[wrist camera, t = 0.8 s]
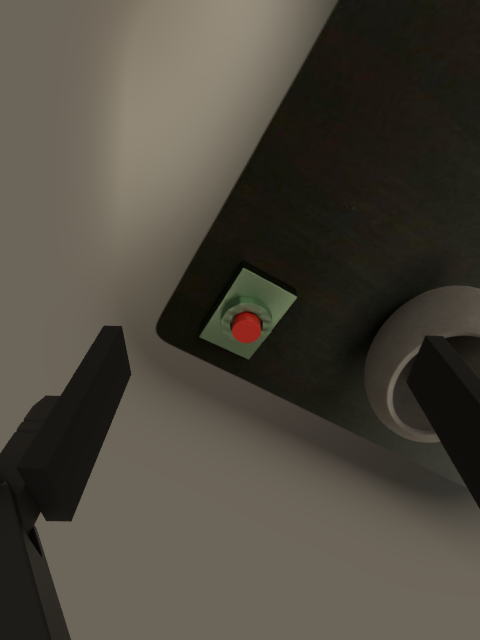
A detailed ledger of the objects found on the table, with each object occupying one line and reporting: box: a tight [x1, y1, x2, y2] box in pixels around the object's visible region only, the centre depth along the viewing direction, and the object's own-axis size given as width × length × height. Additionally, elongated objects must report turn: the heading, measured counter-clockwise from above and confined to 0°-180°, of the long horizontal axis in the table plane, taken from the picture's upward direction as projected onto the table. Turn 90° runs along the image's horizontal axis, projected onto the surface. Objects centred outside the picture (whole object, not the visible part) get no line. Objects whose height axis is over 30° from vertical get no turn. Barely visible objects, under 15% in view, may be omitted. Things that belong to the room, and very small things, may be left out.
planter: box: [365, 286, 480, 443], centre depth 39 cm, size 18×7×19 cm, turn 149°
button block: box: [199, 261, 297, 359], centre depth 44 cm, size 12×8×4 cm, turn 150°
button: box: [232, 312, 261, 343], centre depth 42 cm, size 4×4×2 cm
